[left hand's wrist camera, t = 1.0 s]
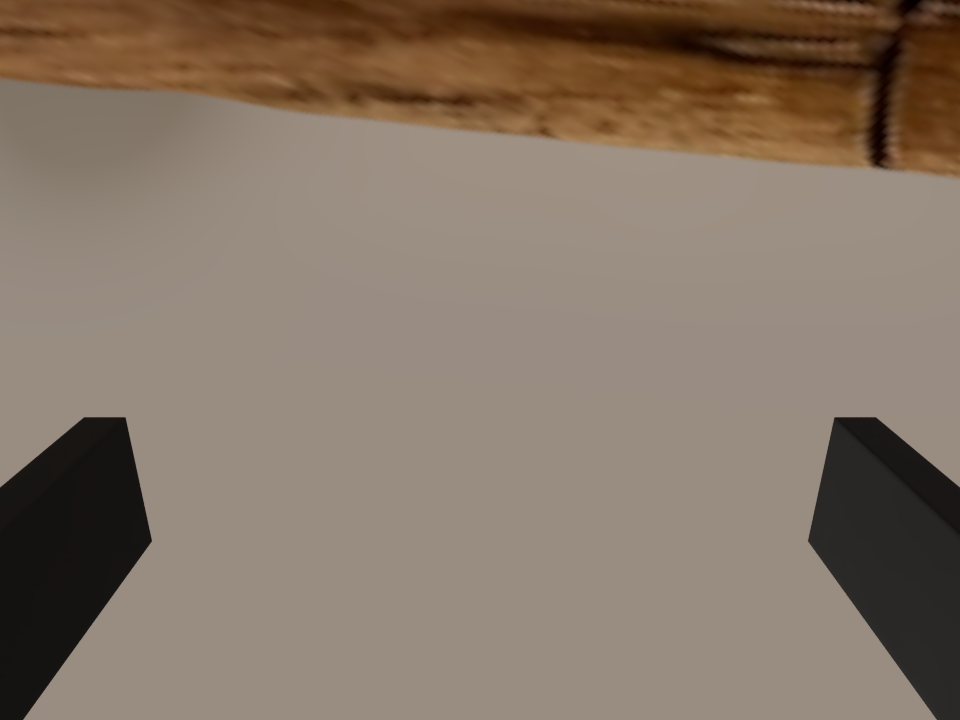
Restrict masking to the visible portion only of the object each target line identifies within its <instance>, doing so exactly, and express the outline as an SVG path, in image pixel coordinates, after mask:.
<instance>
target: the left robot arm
mask: <svg viewBox="0 0 960 720" xmlns="http://www.w3.org/2000/svg"><path fill="white" fill-rule="evenodd" d="M151 542H152V539H151V534H150V530H149V525H148V521H147V516H146V511H145V507H144V502H143V497H142V492H141V488H140V483H139V478H138V474H137V469H136V464H135V460H134V455H133V450H132V446H131V441H130V436H129V432H128V427H127V422H126V418H125V417H84V418H83V419H82V420H80V421H79V422H78V423H77V424H76V425H74V426H73V427H72V428H71V429H70V430H68V431H67V432H66V433H65V434H64V435H63V436H61V437H60V438H59V439H58V440H56V441H55V442H54V443H53V444H52V445H51V446H49V447H48V448H47V449H46V450H44V451H43V452H42V453H41V454H40V455H39V456H37V457H36V458H35V459H34V460H33V461H31V462H30V463H29V464H28V465H27V466H25V467H24V468H23V469H22V470H21V471H19V472H18V473H17V474H16V475H15V476H13V477H12V478H11V479H10V480H9V481H7V482H6V483H5V484H4V485H3V486H1V487H0V720H23V719H24V718H25V716H26V715H27V714H28V712H29V711H30V709H31V708H32V707H33V705H34V704H35V702H36V701H37V700H38V698H39V697H40V696H41V694H42V693H43V691H44V690H45V689H46V687H47V686H48V684H49V683H50V682H51V680H52V679H53V677H54V676H55V675H56V673H57V672H58V671H59V669H60V668H61V666H62V665H63V664H64V662H65V661H66V660H67V658H68V657H69V655H70V654H71V653H72V651H73V650H74V648H75V647H76V646H77V644H78V643H79V641H80V640H81V639H82V637H83V636H84V635H85V633H86V632H87V630H88V629H89V628H90V626H91V625H92V623H93V622H94V621H95V619H96V618H97V617H98V615H99V614H100V612H101V611H102V610H103V608H104V607H105V605H106V604H107V603H108V601H109V600H110V599H111V597H112V596H113V594H114V593H115V592H116V590H117V589H118V587H119V586H120V585H121V583H122V582H123V581H124V579H125V578H126V576H127V575H128V574H129V572H130V571H131V569H132V568H133V567H134V565H135V564H136V563H137V561H138V560H139V558H140V557H141V556H142V554H143V553H144V551H145V550H146V549H147V547H148V546H149V544H150V543H151ZM808 542H809V543H810V544H811V546H812V547H813V549H814V550H815V551H816V553H817V554H818V556H819V557H820V558H821V560H822V561H823V563H824V564H825V565H826V567H827V568H828V569H829V571H830V572H831V574H832V575H833V576H834V578H835V579H836V581H837V582H838V583H839V585H840V586H841V587H842V589H843V590H844V592H845V593H846V594H847V596H848V597H849V599H850V600H851V601H852V603H853V604H854V605H855V607H856V608H857V610H858V611H859V612H860V614H861V615H862V617H863V618H864V619H865V621H866V622H867V623H868V625H869V626H870V628H871V629H872V630H873V632H874V633H875V635H876V636H877V637H878V639H879V640H880V641H881V643H882V644H883V646H884V647H885V648H886V650H887V651H888V652H889V654H890V655H891V657H892V658H893V659H894V661H895V662H896V664H897V665H898V666H899V668H900V669H901V671H902V672H903V673H904V675H905V676H906V677H907V679H908V680H909V682H910V683H911V684H912V686H913V687H914V688H915V690H916V691H917V693H918V694H919V696H920V697H921V698H922V700H923V701H924V702H925V704H926V705H927V707H928V708H929V709H930V711H931V712H932V714H933V715H934V716H935V718H936V719H937V720H960V487H959V486H957V485H956V484H955V483H954V482H953V481H951V480H950V479H949V478H948V477H947V476H945V475H944V474H943V473H942V472H941V471H939V470H938V469H937V468H936V467H935V466H933V465H932V464H931V463H930V462H929V461H927V460H926V459H925V458H924V457H923V456H921V455H920V454H919V453H918V452H917V451H916V450H914V449H913V448H912V447H911V446H910V445H908V444H907V443H906V442H905V441H904V440H902V439H901V438H900V437H899V436H898V435H896V434H895V433H894V432H893V431H891V430H890V429H889V428H888V427H887V426H886V425H884V424H883V423H882V422H881V421H880V420H878V419H877V418H876V417H835V418H834V422H833V427H832V432H831V436H830V441H829V446H828V450H827V455H826V460H825V464H824V469H823V474H822V478H821V483H820V488H819V492H818V497H817V502H816V506H815V511H814V516H813V521H812V525H811V530H810V534H809V539H808Z"/></svg>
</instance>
